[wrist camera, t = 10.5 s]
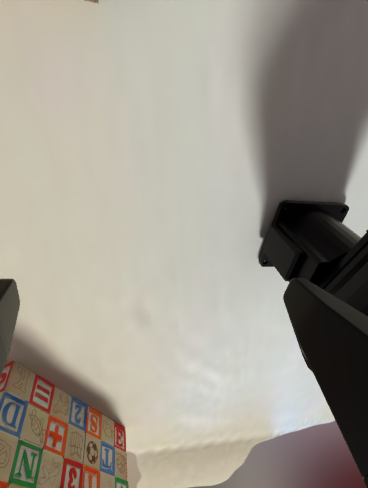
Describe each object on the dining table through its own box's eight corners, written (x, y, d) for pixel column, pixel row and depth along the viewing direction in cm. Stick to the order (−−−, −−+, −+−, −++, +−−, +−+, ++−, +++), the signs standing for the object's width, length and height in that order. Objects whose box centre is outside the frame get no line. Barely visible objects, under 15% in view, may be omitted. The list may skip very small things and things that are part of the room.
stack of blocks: (127, 426, 40) (131, 552, 30) (88, 443, 40) (80, 572, 30) (13, 358, 27) (-45, 539, 17) (-41, 384, 27) (-128, 574, 17)
